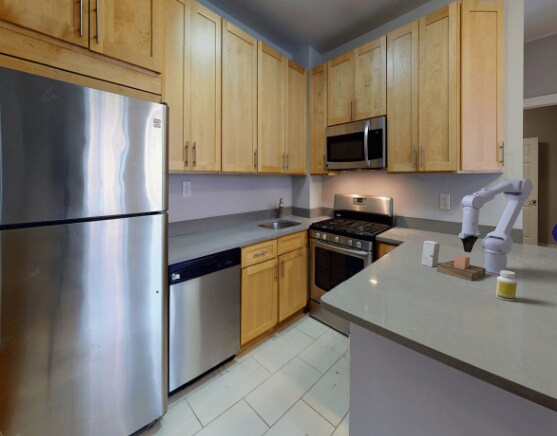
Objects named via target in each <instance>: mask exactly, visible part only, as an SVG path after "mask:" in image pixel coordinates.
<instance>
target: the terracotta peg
mask: <svg viewBox="0 0 557 436" xmlns="http://www.w3.org/2000/svg"><path fill="white" fill-rule="evenodd" d="M470 260H471V257H470V256H469V255H468V256H467V255H463V254H457V255H456V254H455V255H454V258H453V261H454V267H456V268H461V269H465V270H466V269H469V264H470Z"/></svg>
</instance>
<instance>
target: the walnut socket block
mask: <svg viewBox="0 0 557 436" xmlns="http://www.w3.org/2000/svg"><path fill="white" fill-rule="evenodd" d="M436 272H438V273H441V274H445V275H448V276H452V277H456V278H459V279H464V280H466V281H471V282H472V281H474V280H476V279H479V278H481V277H484V276H486V273H487V271H486V268H484V266H483V267H482V266H477V265H473V264H471V263H469V269H466V270H465V269H461V268H456V267H454V260H449V261H446V262H443V263H440V264H437V266H436Z"/></svg>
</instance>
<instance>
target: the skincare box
mask: <svg viewBox="0 0 557 436" xmlns="http://www.w3.org/2000/svg"><path fill="white" fill-rule="evenodd" d="M422 246H423V248H422V256H421V265H425V266H427V267H430V268H431V267H432V268H435V267H437V265H439V264H438V263H439V255H440V254H439V253H440V246H441V243H440V242H437V241H434V240H424V241H423V245H422Z"/></svg>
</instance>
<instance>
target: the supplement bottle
mask: <svg viewBox="0 0 557 436" xmlns="http://www.w3.org/2000/svg"><path fill="white" fill-rule="evenodd" d="M506 270H507V269H506ZM506 270H501V271H500V274H499V275H500V276H497V277H496V285H495V293H494V296H495V297H496V298H498V299H500V300H502V301H506V302H508V301H509V302H514V301H515V299H516V294H517V285H518V280H517V279H516V273H515V272H514V271H510V270H509V271H506Z"/></svg>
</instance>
